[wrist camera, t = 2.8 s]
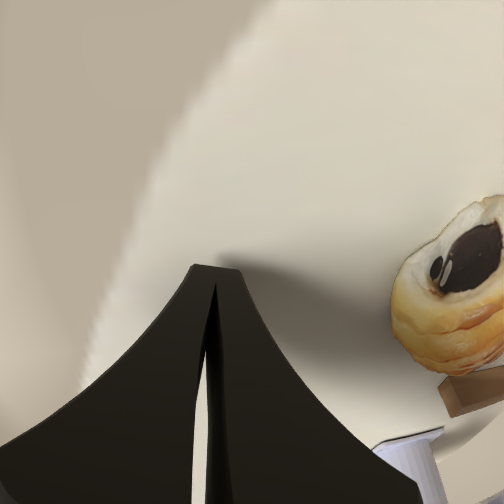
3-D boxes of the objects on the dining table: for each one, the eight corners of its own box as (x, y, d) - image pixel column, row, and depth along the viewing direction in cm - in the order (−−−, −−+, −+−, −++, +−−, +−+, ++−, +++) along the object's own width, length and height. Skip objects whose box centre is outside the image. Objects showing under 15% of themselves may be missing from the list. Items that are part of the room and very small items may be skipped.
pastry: (511, 303, 12) (544, 349, 9) (422, 370, 14) (445, 424, 11) (492, 171, 8) (564, 219, 5) (357, 276, 10) (397, 361, 7)
